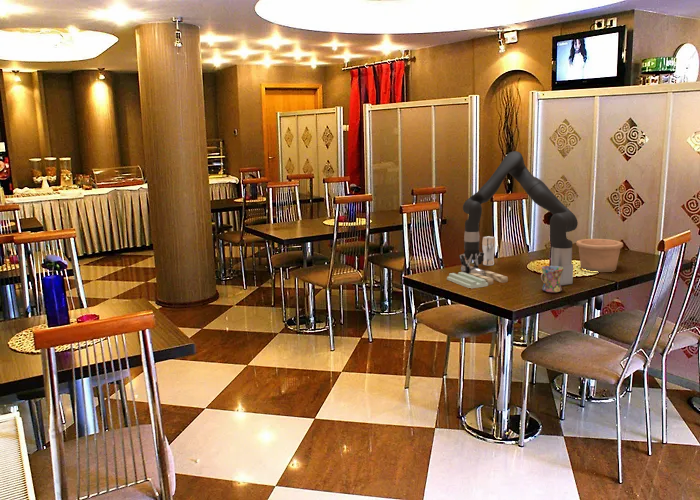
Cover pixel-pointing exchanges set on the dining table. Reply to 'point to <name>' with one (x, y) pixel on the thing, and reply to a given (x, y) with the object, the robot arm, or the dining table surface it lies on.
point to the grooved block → (467, 280)
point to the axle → (474, 270)
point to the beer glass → (488, 250)
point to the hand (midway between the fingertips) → (471, 273)
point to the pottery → (599, 254)
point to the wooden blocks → (491, 277)
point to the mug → (551, 278)
